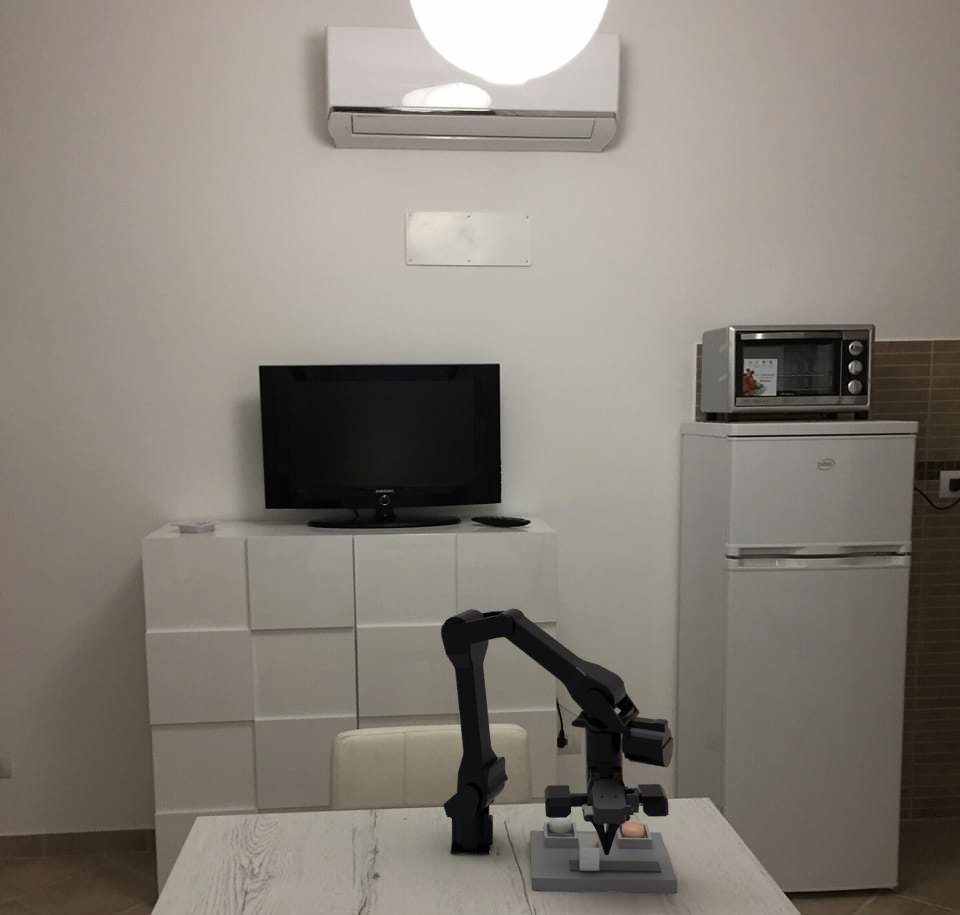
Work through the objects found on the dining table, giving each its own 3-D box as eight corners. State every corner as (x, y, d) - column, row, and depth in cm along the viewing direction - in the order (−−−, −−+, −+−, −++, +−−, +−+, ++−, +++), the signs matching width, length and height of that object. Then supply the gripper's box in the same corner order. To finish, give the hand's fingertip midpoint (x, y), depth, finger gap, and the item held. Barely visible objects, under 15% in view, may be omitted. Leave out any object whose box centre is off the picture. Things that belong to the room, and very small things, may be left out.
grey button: (550, 832, 143) (550, 821, 143) (549, 822, 147) (549, 810, 147) (572, 833, 143) (572, 821, 143) (570, 822, 147) (570, 811, 146)
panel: (531, 890, 133) (531, 867, 133) (530, 841, 148) (530, 821, 148) (676, 893, 132) (676, 869, 132) (660, 843, 147) (660, 823, 147)
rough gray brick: (579, 870, 134) (579, 847, 134) (577, 855, 139) (577, 833, 138) (599, 870, 134) (599, 847, 134) (596, 856, 138) (596, 833, 138)
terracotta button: (623, 843, 143) (623, 831, 143) (620, 832, 146) (620, 821, 146) (645, 843, 143) (645, 832, 142) (642, 833, 146) (642, 821, 146)
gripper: (545, 778, 128) (548, 882, 128) (674, 776, 127) (676, 881, 128) (543, 749, 139) (545, 844, 140) (661, 747, 138) (663, 843, 139)
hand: (606, 853), depth 136 cm, fingers closed
